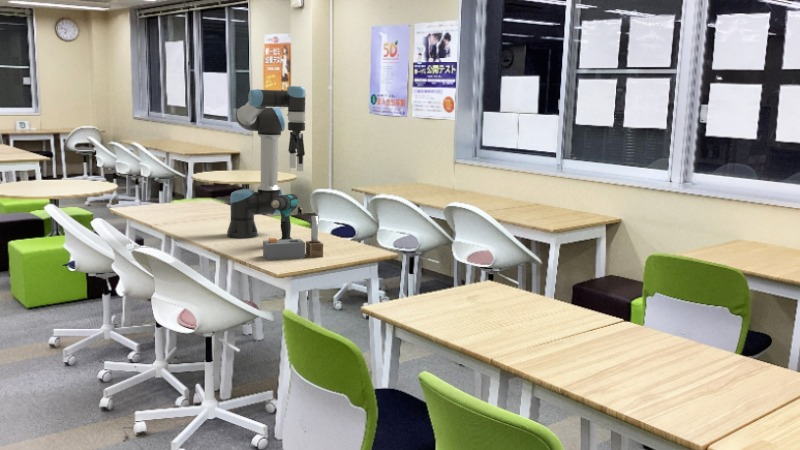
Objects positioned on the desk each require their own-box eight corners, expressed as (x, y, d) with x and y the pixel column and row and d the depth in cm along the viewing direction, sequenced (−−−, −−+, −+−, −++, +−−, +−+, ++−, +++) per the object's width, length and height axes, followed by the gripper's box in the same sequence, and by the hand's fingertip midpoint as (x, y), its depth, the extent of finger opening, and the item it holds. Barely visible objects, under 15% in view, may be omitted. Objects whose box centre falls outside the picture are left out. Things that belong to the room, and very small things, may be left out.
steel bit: (310, 254, 328) (310, 215, 325) (316, 254, 329) (317, 215, 326) (311, 256, 325) (312, 217, 322) (318, 255, 326) (318, 216, 323)
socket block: (263, 255, 323) (263, 240, 322) (300, 253, 329) (300, 238, 328) (267, 260, 315) (267, 244, 314) (305, 258, 321) (305, 242, 320)
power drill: (282, 253, 330) (282, 199, 325) (263, 251, 332) (263, 197, 327) (301, 242, 355) (301, 191, 351) (284, 240, 357) (284, 190, 352)
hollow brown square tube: (305, 253, 330) (305, 240, 329) (318, 253, 332) (318, 240, 331) (310, 257, 322) (310, 244, 321) (323, 256, 325) (323, 243, 324)
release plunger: (268, 255, 321) (268, 238, 319) (275, 255, 322) (275, 237, 321) (270, 257, 318) (270, 239, 317) (276, 256, 319) (276, 239, 318)
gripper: (281, 120, 328) (281, 166, 332) (294, 122, 305) (294, 172, 309) (298, 120, 331) (297, 166, 334) (312, 123, 308) (311, 172, 312)
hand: (296, 169), depth 322 cm, fingers open, 13 cm apart
